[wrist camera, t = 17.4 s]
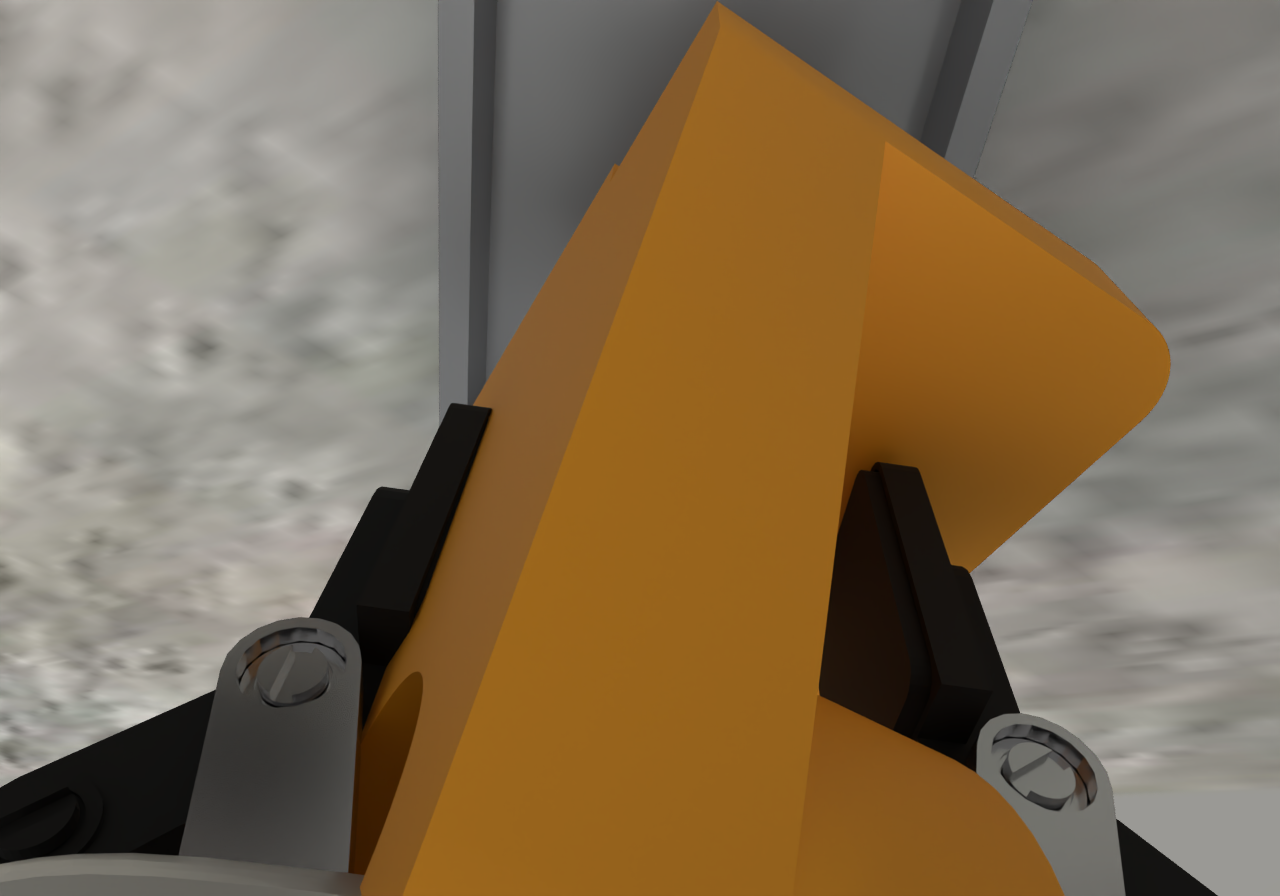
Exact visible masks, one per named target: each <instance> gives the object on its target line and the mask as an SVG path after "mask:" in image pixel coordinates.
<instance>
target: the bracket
mask: <svg viewBox="0 0 1280 896" xmlns="http://www.w3.org/2000/svg"><path fill="white" fill-rule="evenodd" d="M1170 365H1171V364H1170V354H1169V349H1168V346H1167V343H1166V341H1165V339H1164V338H1163V336H1162V335H1161V333H1160V332H1159V331H1158V330H1157V328H1156V327H1155V326H1154V325H1153V324H1152V323H1151V322H1150V321H1149V320H1148V319H1147V318H1146V317H1145V316H1144V315H1143V314H1142V312H1141V311H1140V310H1139V309H1138V308H1137V307H1136V306H1135V305H1134V304H1133V303H1132V302H1131V301H1130V300H1129V299H1128V298H1127V297H1126V295H1125V294H1124V293H1123V292H1122V291H1121V290H1120V289H1119V288H1118V287H1117V286H1116V285H1115V284H1114V283H1113V282H1112V281H1111V279H1110V278H1109V277H1108V276H1107V275H1106V274H1105V273H1104V272H1103V271H1102V270H1101V269H1100V268H1099V267H1098V266H1097V265H1096V264H1095V263H1094V262H1092V261H1091V260H1089V259H1088V258H1087V257H1085V256H1084V255H1082V254H1081V253H1079V252H1078V251H1076V250H1075V249H1074V248H1072V247H1071V246H1069V245H1068V244H1066V243H1065V242H1064V241H1062V240H1061V239H1059V238H1058V237H1056V236H1055V235H1053V234H1052V233H1051V232H1049V231H1048V230H1046V229H1045V228H1043V227H1042V226H1040V225H1039V224H1038V223H1036V222H1035V221H1033V220H1032V219H1030V218H1029V217H1028V216H1026V215H1025V214H1023V213H1022V212H1020V211H1019V210H1017V209H1016V208H1015V207H1013V206H1012V205H1010V204H1009V203H1007V202H1006V201H1004V200H1003V199H1002V198H1000V197H999V196H997V195H996V194H994V193H993V192H992V191H990V190H989V189H987V188H986V187H984V186H983V185H981V184H980V183H979V182H977V181H976V180H974V179H973V178H971V177H970V176H968V175H967V174H966V173H964V172H963V171H961V170H960V169H958V168H957V167H956V166H954V165H953V164H951V163H950V162H948V161H947V160H945V159H944V158H943V157H941V156H940V155H938V154H937V153H935V152H934V151H932V150H931V149H930V148H928V147H927V146H925V145H924V144H922V143H921V142H920V141H918V140H917V139H915V138H914V137H912V136H911V135H909V134H908V133H907V132H905V131H904V130H902V129H901V128H899V127H898V126H896V125H895V124H894V123H892V122H891V121H889V120H888V119H886V118H885V117H883V116H882V115H881V114H879V113H878V112H876V111H875V110H873V109H872V108H871V107H869V106H868V105H866V104H865V103H863V102H862V101H860V100H859V99H858V98H856V97H855V96H853V95H852V94H850V93H849V92H847V91H846V90H845V89H843V88H842V87H840V86H839V85H837V84H836V83H835V82H833V81H832V80H830V79H829V78H827V77H826V76H824V75H823V74H822V73H820V72H819V71H817V70H816V69H814V68H813V67H811V66H810V65H809V64H807V63H806V62H804V61H803V60H801V59H800V58H799V57H797V56H796V55H794V54H793V53H791V52H790V51H788V50H787V49H786V48H784V47H783V46H781V45H780V44H778V43H777V42H775V41H774V40H773V39H771V38H770V37H768V36H767V35H765V34H764V33H763V32H761V31H760V30H758V29H757V28H755V27H754V26H752V25H751V24H750V23H748V22H747V21H745V20H744V19H742V18H741V17H739V16H738V15H737V14H735V13H734V12H732V11H731V10H729V9H728V8H727V7H725V6H724V5H722V4H721V3H719V2H718V1H717V2H716V4H715V5H714V7H713V9H712V10H711V12H710V14H709V15H708V17H707V19H706V21H705V22H704V24H703V26H702V27H701V29H700V31H699V32H698V34H697V36H696V37H695V39H694V41H693V43H692V44H691V46H690V48H689V49H688V51H687V53H686V54H685V56H684V58H683V59H682V61H681V63H680V65H679V66H678V68H677V70H676V71H675V73H674V75H673V76H672V78H671V80H670V81H669V83H668V85H667V86H666V88H665V90H664V92H663V93H662V95H661V97H660V98H659V100H658V102H657V103H656V105H655V107H654V108H653V110H652V112H651V114H650V115H649V117H648V119H647V120H646V122H645V124H644V125H643V127H642V129H641V130H640V132H639V134H638V135H637V137H636V139H635V141H634V142H633V144H632V146H631V147H630V149H629V151H628V152H627V154H626V156H625V157H624V159H623V161H622V163H621V164H620V166H618V165H616V164H614V166H613V167H612V169H611V171H610V173H609V174H608V176H607V178H606V179H605V181H604V183H603V184H602V186H601V188H600V190H599V191H598V193H597V195H596V196H595V198H594V200H593V201H592V203H591V205H590V207H589V208H588V210H587V212H586V213H585V215H584V217H583V218H582V220H581V222H580V224H579V225H578V227H577V229H576V230H575V232H574V234H573V236H572V237H571V239H570V241H569V242H568V244H567V246H566V247H565V249H564V251H563V253H562V254H561V256H560V258H559V259H558V261H557V263H556V264H555V266H554V268H553V270H552V271H551V273H550V275H549V276H548V278H547V280H546V281H545V283H544V285H543V287H542V288H541V290H540V292H539V293H538V295H537V297H536V298H535V300H534V302H533V304H532V305H531V307H530V309H529V310H528V312H527V314H526V315H525V317H524V319H523V321H522V322H521V324H520V326H519V327H518V329H517V331H516V333H515V334H514V336H513V338H512V339H511V341H510V343H509V344H508V346H507V348H506V350H505V351H504V353H503V355H502V356H501V358H500V360H499V361H498V363H497V365H496V367H495V368H494V370H493V372H492V373H491V375H490V377H489V378H488V380H487V382H486V384H485V385H484V387H483V389H482V390H481V392H480V394H479V395H478V397H477V399H476V401H475V402H474V404H473V406H480V407H487V408H491V409H492V411H491V414H490V416H489V417H488V418H489V420H488V423H487V426H486V428H485V431H484V434H483V437H482V440H481V442H480V445H479V448H478V451H477V453H476V456H475V459H474V462H473V465H472V467H471V470H470V473H469V476H468V478H467V481H466V484H465V487H464V490H463V492H462V495H461V498H460V501H459V503H458V506H457V509H456V512H455V515H454V517H453V520H452V523H451V526H450V528H449V531H448V534H447V537H446V540H445V542H444V545H443V548H442V551H441V554H440V556H439V559H438V562H437V565H436V567H435V570H434V573H433V576H432V579H431V581H430V584H429V587H428V590H427V592H426V595H425V597H424V600H423V602H422V604H421V606H420V608H419V610H418V612H417V614H416V616H415V618H414V621H413V624H412V627H411V629H410V632H409V633H408V635H407V636H406V638H405V639H404V641H403V642H402V644H401V646H400V647H399V649H398V650H397V652H396V653H395V655H394V656H393V658H392V659H391V661H390V662H389V664H388V665H387V667H386V670H385V673H384V675H383V678H382V681H381V683H380V686H379V689H378V691H377V694H376V697H375V699H374V702H373V705H372V707H371V710H370V713H369V715H368V718H367V721H366V723H365V726H364V729H363V731H362V738H361V762H360V780H359V797H358V814H357V831H356V849H355V866H354V874H360V875H364V878H363V880H362V883H361V885H360V890H361V896H1065V895H1064V893H1063V891H1062V889H1061V886H1060V884H1059V882H1058V880H1057V877H1056V875H1055V873H1054V871H1053V869H1052V866H1051V865H1050V863H1049V861H1048V860H1047V858H1046V856H1045V854H1044V853H1043V851H1042V849H1041V847H1040V846H1039V844H1038V842H1037V841H1036V839H1035V837H1034V835H1033V834H1032V833H1031V831H1030V830H1029V829H1028V827H1027V826H1026V824H1025V823H1024V822H1023V820H1022V819H1021V818H1020V816H1019V815H1018V814H1017V812H1016V811H1015V809H1014V808H1013V807H1012V806H1011V805H1010V804H1009V803H1008V802H1007V801H1006V800H1005V799H1004V798H1003V797H1002V796H1001V795H1000V793H999V792H998V791H997V790H996V789H995V788H994V787H992V786H991V785H990V784H989V783H988V782H986V781H985V780H984V779H983V778H981V777H980V776H979V775H978V774H976V773H975V772H974V771H972V770H971V769H969V768H967V767H966V766H964V765H962V764H961V763H959V762H957V761H956V760H954V759H952V758H950V757H947V756H945V755H943V754H941V753H939V752H937V751H935V750H933V749H931V748H929V747H926V746H924V745H922V744H920V743H918V742H916V741H914V740H912V739H910V738H908V737H905V736H903V735H901V734H899V733H897V732H895V731H893V730H891V729H889V728H887V727H884V726H882V725H880V724H878V723H876V722H874V721H872V720H870V719H868V718H866V717H863V716H861V715H859V714H857V713H855V712H853V711H851V710H849V709H847V708H845V707H842V706H840V705H838V704H836V703H834V702H832V701H830V700H828V699H826V698H824V697H821V696H820V694H819V679H820V670H821V662H822V654H823V646H824V638H825V630H826V622H827V613H828V605H829V597H830V589H831V581H832V573H833V565H834V556H835V548H836V540H837V534H838V531H839V528H840V525H841V522H842V519H843V516H844V513H845V509H846V506H847V503H848V500H849V497H850V494H851V491H852V488H853V484H854V481H855V478H856V476H857V474H858V472H859V471H860V470H866V471H871V468H872V467H873V465H874V464H875V463H876V462H883V463H890V464H897V465H904V466H912V467H916V468H918V469H919V471H920V474H921V477H922V479H923V482H924V485H925V488H926V491H927V494H928V497H929V500H930V503H931V506H932V509H933V512H934V515H935V518H936V521H937V524H938V527H939V530H940V533H941V536H942V539H943V542H944V545H945V548H946V551H947V554H948V557H949V560H950V563H951V565H955V566H963V567H964V568H965V569H967V570H968V572H969V573H970V572H972V571H973V570H974V569H975V568H976V567H977V566H978V565H979V564H981V563H982V562H983V561H984V560H985V559H986V558H987V557H988V556H990V555H991V554H992V553H993V552H994V551H995V550H996V549H997V548H999V547H1000V546H1001V545H1002V544H1003V543H1004V542H1005V541H1006V540H1008V539H1009V538H1010V537H1011V536H1012V535H1013V534H1014V533H1015V532H1017V531H1018V530H1019V529H1020V528H1021V527H1022V526H1023V525H1024V524H1026V523H1027V522H1028V521H1029V520H1030V519H1031V518H1032V517H1034V516H1035V515H1036V514H1037V513H1038V512H1039V511H1040V510H1041V509H1043V508H1044V507H1045V506H1046V505H1047V504H1048V503H1049V502H1050V501H1052V500H1053V499H1054V498H1055V497H1056V496H1057V495H1058V494H1059V493H1061V492H1062V491H1063V490H1064V489H1065V488H1066V487H1067V486H1068V485H1070V484H1071V483H1072V482H1073V481H1074V480H1075V479H1076V478H1077V477H1079V476H1080V475H1081V474H1082V473H1083V472H1084V471H1085V470H1086V469H1088V468H1089V467H1090V466H1091V465H1092V464H1093V463H1094V462H1095V461H1097V460H1098V459H1099V458H1100V457H1101V456H1102V455H1103V454H1104V453H1106V452H1107V451H1108V450H1109V449H1110V448H1111V447H1112V446H1114V445H1115V444H1116V443H1117V442H1118V441H1119V440H1120V439H1121V438H1123V437H1124V436H1125V435H1126V434H1127V433H1128V432H1129V431H1130V430H1132V429H1133V428H1134V427H1135V426H1136V425H1137V424H1138V423H1139V422H1141V421H1142V420H1143V419H1144V418H1145V417H1146V416H1147V415H1148V414H1149V412H1150V411H1151V410H1152V409H1153V408H1154V406H1155V405H1156V404H1157V402H1158V401H1159V399H1160V397H1161V396H1162V394H1163V392H1164V390H1165V388H1166V385H1167V382H1168V378H1169V374H1170Z"/></svg>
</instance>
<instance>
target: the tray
mask: <svg viewBox="0 0 1280 896" xmlns="http://www.w3.org/2000/svg"><path fill="white" fill-rule="evenodd" d="M717 1H718V2H719V3H721V4H722V5H724V6H725V7H727V8H728V9H729V10H731V11H732V12H734V13H735V14H737V15H738V16H739V17H741V18H742V19H744V20H745V21H747V22H748V23H750V24H751V25H752V26H754V27H755V28H757V29H758V30H760V31H761V32H763V33H764V34H765V35H767V36H768V37H770V38H771V39H773V40H774V41H775V42H777V43H778V44H780V45H781V46H783V47H784V48H786V49H787V50H788V51H790V52H791V53H793V54H794V55H796V56H797V57H799V58H800V59H801V60H803V61H804V62H806V63H807V64H809V65H810V66H811V67H813V68H814V69H816V70H817V71H819V72H820V73H822V74H823V75H824V76H826V77H827V78H829V79H830V80H832V81H833V82H835V83H836V84H837V85H839V86H840V87H842V88H843V89H845V90H846V91H847V92H849V93H850V94H852V95H853V96H855V97H856V98H858V99H859V100H860V101H862V102H863V103H865V104H866V105H868V106H869V107H871V108H872V109H873V110H875V111H876V112H878V113H879V114H881V115H882V116H883V117H885V118H886V119H888V120H889V121H891V122H892V123H894V124H895V125H896V126H898V127H899V128H901V129H902V130H904V131H905V132H907V133H908V134H909V135H911V136H912V137H914V138H915V139H917V140H918V141H920V142H921V143H922V144H924V145H925V146H927V147H928V148H930V149H931V150H932V151H934V152H935V153H937V154H938V155H940V156H941V157H943V158H944V159H945V160H947V161H948V162H950V163H951V164H953V165H954V166H956V167H957V168H958V169H960V170H961V171H963V172H964V173H966V174H967V175H968V176H970V177H971V178H974V175H975V172H976V169H977V166H978V163H979V160H980V157H981V154H982V151H983V148H984V145H985V142H986V139H987V136H988V133H989V130H990V127H991V124H992V121H993V118H994V115H995V112H996V109H997V106H998V103H999V100H1000V97H1001V94H1002V91H1003V88H1004V86H1005V83H1006V80H1007V77H1008V74H1009V71H1010V68H1011V65H1012V62H1013V59H1014V56H1015V53H1016V50H1017V47H1018V44H1019V41H1020V38H1021V35H1022V32H1023V29H1024V26H1025V23H1026V20H1027V17H1028V14H1029V11H1030V8H1031V5H1032V2H1033V0H438V142H439V427H440V424H441V422H442V420H443V418H444V416H445V414H446V412H447V409H448V407H449V406H450V404H451V403H459V404H466V405H473V404H474V402H475V401H476V399H477V397H478V395H479V394H480V392H481V390H482V389H483V387H484V385H485V384H486V382H487V380H488V378H489V377H490V375H491V373H492V372H493V370H494V368H495V367H496V365H497V363H498V361H499V360H500V358H501V356H502V355H503V353H504V351H505V350H506V348H507V346H508V344H509V343H510V341H511V339H512V338H513V336H514V334H515V333H516V331H517V329H518V327H519V326H520V324H521V322H522V321H523V319H524V317H525V315H526V314H527V312H528V310H529V309H530V307H531V305H532V304H533V302H534V300H535V298H536V297H537V295H538V293H539V292H540V290H541V288H542V287H543V285H544V283H545V281H546V280H547V278H548V276H549V275H550V273H551V271H552V270H553V268H554V266H555V264H556V263H557V261H558V259H559V258H560V256H561V254H562V253H563V251H564V249H565V247H566V246H567V244H568V242H569V241H570V239H571V237H572V236H573V234H574V232H575V230H576V229H577V227H578V225H579V224H580V222H581V220H582V218H583V217H584V215H585V213H586V212H587V210H588V208H589V207H590V205H591V203H592V201H593V200H594V198H595V196H596V195H597V193H598V191H599V190H600V188H601V186H602V184H603V183H604V181H605V179H606V178H607V176H608V174H609V173H610V171H611V169H612V167H613V166H614V164H616V165H618V166H620V164H621V163H622V161H623V159H624V157H625V156H626V154H627V152H628V151H629V149H630V147H631V146H632V144H633V142H634V141H635V139H636V137H637V135H638V134H639V132H640V130H641V129H642V127H643V125H644V124H645V122H646V120H647V119H648V117H649V115H650V114H651V112H652V110H653V108H654V107H655V105H656V103H657V102H658V100H659V98H660V97H661V95H662V93H663V92H664V90H665V88H666V86H667V85H668V83H669V81H670V80H671V78H672V76H673V75H674V73H675V71H676V70H677V68H678V66H679V65H680V63H681V61H682V59H683V58H684V56H685V54H686V53H687V51H688V49H689V48H690V46H691V44H692V43H693V41H694V39H695V37H696V36H697V34H698V32H699V31H700V29H701V27H702V26H703V24H704V22H705V21H706V19H707V17H708V15H709V14H710V12H711V10H712V9H713V7H714V5H715V4H716V2H717Z"/></svg>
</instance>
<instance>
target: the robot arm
mask: <svg viewBox="0 0 1280 896" xmlns="http://www.w3.org/2000/svg"><path fill="white" fill-rule="evenodd" d="M491 411H492V409H491V408H487V407H480V406H473V405H466V404H459V403H451V404H450V406H449V407H448V409H447V412H446V414H445V416H444V418H443V420H442V422H441V424H440V427H439V429H438V431H437V433H436V435H435V437H434V439H433V442H432V444H431V446H430V448H429V450H428V452H427V455H426V457H425V459H424V461H423V463H422V465H421V467H420V470H419V472H418V474H417V476H416V478H415V480H414V482H413V485H412V487H411V489H410V490H403V489H396V488H388V487H380V488H378V489H377V490H376V492H375V493H374V495H373V496H372V498H371V500H370V502H369V504H368V506H367V508H366V510H365V511H364V513H363V515H362V517H361V519H360V521H359V523H358V525H357V527H356V529H355V531H354V533H353V535H352V536H351V538H350V540H349V542H348V544H347V546H346V548H345V550H344V552H343V554H342V556H341V558H340V560H339V561H338V563H337V565H336V567H335V569H334V571H333V573H332V575H331V577H330V579H329V581H328V583H327V585H326V586H325V588H324V590H323V592H322V594H321V596H320V598H319V600H318V602H317V604H316V606H315V608H314V610H313V611H312V613H311V615H310V617H309V618H302V617H298V618H292V619H286V620H279V621H276V622H273V623H271V624H268V625H265V626H263V627H260V628H258V629H256V630H255V631H253V632H252V633H250V634H249V635H247V636H245V637H244V638H242V639H241V640H240V641H239V642H238V643H237V644H236V645H235V646H234V647H233V649H232V650H231V651H230V652H229V653H228V654H227V656H226V658H225V661H224V663H223V665H222V668H221V670H220V674H219V678H218V683H217V687H216V690H214V691H212V692H209V693H207V694H205V695H203V696H200V697H198V698H196V699H194V700H191V701H189V702H187V703H185V704H182V705H180V706H178V707H176V708H173V709H171V710H169V711H167V712H164V713H162V714H160V715H158V716H155V717H153V718H151V719H149V720H146V721H144V722H142V723H140V724H137V725H135V726H133V727H131V728H128V729H126V730H124V731H122V732H119V733H117V734H115V735H113V736H110V737H108V738H106V739H104V740H101V741H99V742H97V743H95V744H92V745H90V746H88V747H86V748H83V749H81V750H79V751H77V752H74V753H72V754H70V755H68V756H65V757H63V758H61V759H59V760H56V761H54V762H52V763H50V764H47V765H45V766H43V767H41V768H38V769H36V770H34V771H32V772H29V773H27V774H25V775H23V776H20V777H18V778H17V779H15V780H13V781H11V782H9V783H8V784H6V785H4V786H2V787H1V788H0V896H361V890H360V885H361V883H362V880H363V878H364V875H360V874H354V866H355V849H356V831H357V814H358V797H359V780H360V762H361V738H362V731H363V729H364V726H365V723H366V721H367V718H368V715H369V713H370V710H371V707H372V705H373V702H374V699H375V697H376V694H377V691H378V689H379V686H380V683H381V681H382V678H383V675H384V673H385V670H386V667H387V665H388V664H389V662H390V661H391V659H392V658H393V656H394V655H395V653H396V652H397V650H398V649H399V647H400V646H401V644H402V642H403V641H404V639H405V638H406V636H407V635H408V633H409V632H410V629H411V627H412V624H413V621H414V618H415V616H416V614H417V612H418V610H419V608H420V606H421V604H422V602H423V600H424V597H425V595H426V592H427V590H428V587H429V584H430V581H431V579H432V576H433V573H434V570H435V567H436V565H437V562H438V559H439V556H440V554H441V551H442V548H443V545H444V542H445V540H446V537H447V534H448V531H449V528H450V526H451V523H452V520H453V517H454V515H455V512H456V509H457V506H458V503H459V501H460V498H461V495H462V492H463V490H464V487H465V484H466V481H467V478H468V476H469V473H470V470H471V467H472V465H473V462H474V459H475V456H476V453H477V451H478V448H479V445H480V442H481V440H482V437H483V434H484V431H485V428H486V426H487V423H488V420H489V418H488V417H489V416H490V414H491ZM819 694H820V696H821V697H824V698H826V699H828V700H830V701H832V702H834V703H836V704H838V705H840V706H842V707H845V708H847V709H849V710H851V711H853V712H855V713H857V714H859V715H861V716H863V717H866V718H868V719H870V720H872V721H874V722H876V723H878V724H880V725H882V726H884V727H887V728H889V729H891V730H893V731H895V732H897V733H899V734H901V735H903V736H905V737H908V738H910V739H912V740H914V741H916V742H918V743H920V744H922V745H924V746H926V747H929V748H931V749H933V750H935V751H937V752H939V753H941V754H943V755H945V756H947V757H950V758H952V759H954V760H956V761H957V762H959V763H961V764H962V765H964V766H966V767H967V768H969V769H971V770H972V771H974V772H975V773H976V774H978V775H979V776H980V777H981V778H983V779H984V780H985V781H986V782H988V783H989V784H990V785H991V786H992V787H994V788H995V789H996V790H997V791H998V792H999V793H1000V795H1001V796H1002V797H1003V798H1004V799H1005V800H1006V801H1007V802H1008V803H1009V804H1010V805H1011V806H1012V807H1013V808H1014V809H1015V811H1016V812H1017V814H1018V815H1019V816H1020V818H1021V819H1022V820H1023V822H1024V823H1025V824H1026V826H1027V827H1028V829H1029V830H1030V831H1031V833H1032V834H1033V835H1034V837H1035V839H1036V841H1037V842H1038V844H1039V846H1040V847H1041V849H1042V851H1043V853H1044V854H1045V856H1046V858H1047V860H1048V861H1049V863H1050V865H1051V866H1052V869H1053V871H1054V873H1055V875H1056V877H1057V880H1058V882H1059V884H1060V886H1061V889H1062V891H1063V893H1064V895H1065V896H1217V895H1216V894H1215V893H1214V892H1212V891H1211V890H1209V889H1208V888H1207V887H1206V886H1204V885H1203V884H1202V883H1200V882H1199V881H1198V880H1196V879H1195V878H1194V877H1192V876H1191V875H1190V874H1189V873H1187V872H1186V871H1185V870H1183V869H1182V868H1181V867H1179V866H1178V865H1177V864H1175V863H1174V862H1173V861H1171V860H1170V859H1169V858H1167V857H1166V856H1165V855H1163V854H1162V853H1161V852H1159V851H1158V850H1157V849H1156V848H1154V847H1153V846H1152V845H1150V844H1149V843H1148V842H1146V841H1145V840H1144V839H1142V838H1141V837H1140V836H1138V835H1137V834H1136V833H1135V832H1133V831H1132V830H1131V829H1129V828H1128V827H1127V826H1125V825H1124V824H1123V823H1121V822H1120V821H1119V820H1117V819H1116V815H1115V807H1114V799H1113V791H1112V787H1111V784H1110V781H1109V777H1108V774H1107V772H1106V770H1105V768H1104V767H1103V765H1102V764H1101V762H1100V761H1099V759H1098V758H1097V756H1096V755H1095V754H1094V753H1093V752H1092V751H1091V750H1090V749H1089V748H1088V747H1087V746H1086V745H1085V744H1084V743H1083V742H1082V741H1081V740H1080V739H1079V738H1077V737H1076V736H1074V735H1073V734H1072V733H1070V732H1069V731H1067V730H1066V729H1064V728H1063V727H1061V726H1059V725H1057V724H1055V723H1052V722H1050V721H1048V720H1045V719H1043V718H1041V717H1036V716H1031V715H1027V714H1022V713H1020V711H1019V708H1018V706H1017V703H1016V700H1015V697H1014V694H1013V692H1012V689H1011V686H1010V683H1009V680H1008V678H1007V675H1006V672H1005V669H1004V666H1003V664H1002V661H1001V658H1000V655H999V652H998V650H997V647H996V644H995V641H994V638H993V636H992V633H991V630H990V627H989V624H988V622H987V619H986V616H985V613H984V611H983V608H982V605H981V602H980V599H979V597H978V594H977V591H976V588H975V585H974V583H973V580H972V577H971V576H970V574H969V572H968V570H967V569H965V568H964V567H963V566H955V565H951V563H950V560H949V557H948V554H947V551H946V548H945V545H944V542H943V539H942V536H941V533H940V530H939V527H938V524H937V521H936V518H935V515H934V512H933V509H932V506H931V503H930V500H929V497H928V494H927V491H926V488H925V485H924V482H923V479H922V477H921V474H920V471H919V469H918V468H916V467H912V466H904V465H897V464H890V463H883V462H876V463H875V464H874V465H873V467H872V468H871V471H866V470H860V471H859V472H858V474H857V476H856V478H855V481H854V484H853V488H852V491H851V494H850V497H849V500H848V503H847V506H846V509H845V513H844V516H843V519H842V522H841V525H840V528H839V531H838V534H837V540H836V548H835V556H834V565H833V573H832V581H831V589H830V597H829V605H828V613H827V622H826V630H825V638H824V646H823V654H822V662H821V670H820V679H819Z"/></svg>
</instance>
